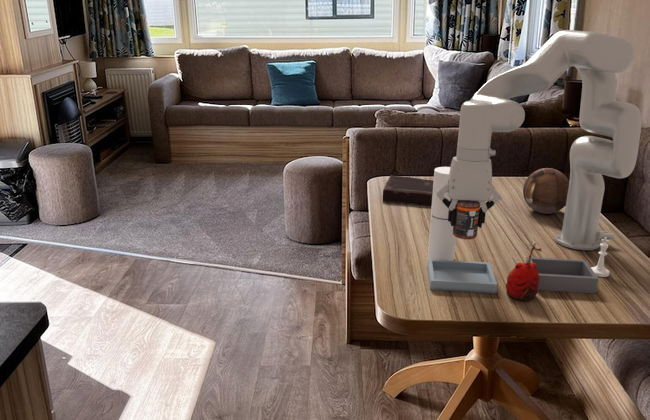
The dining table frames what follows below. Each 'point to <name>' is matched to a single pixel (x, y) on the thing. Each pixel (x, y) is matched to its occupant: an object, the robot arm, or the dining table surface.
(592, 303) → the dining table surface
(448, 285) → the tray
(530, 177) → the reflective sphere
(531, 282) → the red clay folk toy
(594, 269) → the chess piece
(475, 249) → the dining table surface
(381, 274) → the dining table surface
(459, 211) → the supplement bottle
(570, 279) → the dock
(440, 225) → the cylindrical container
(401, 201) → the diary
